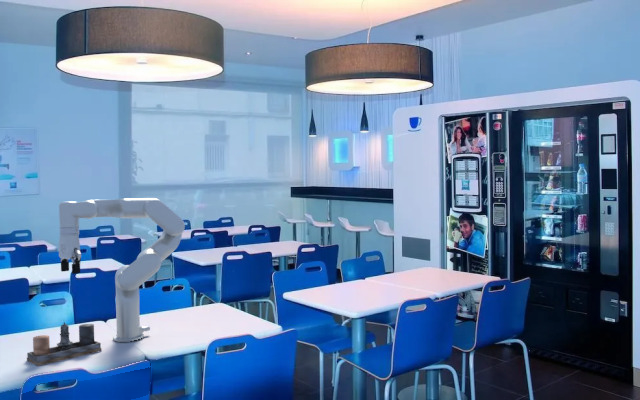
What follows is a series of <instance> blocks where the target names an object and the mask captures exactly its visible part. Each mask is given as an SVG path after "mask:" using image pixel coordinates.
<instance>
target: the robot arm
mask: <svg viewBox="0 0 640 400" xmlns="http://www.w3.org/2000/svg"><path fill="white" fill-rule="evenodd" d="M58 212H59V213H58V217H59V218H58V220H59V224H58V225H59V240H58V257H59V258H60V271H61V272H69V271H70V262H69V260H71V274H73V275H75V274H81V263H82V262H81V260H82V252H81V244H80V237H79V235H80V219H89V220H90V219H94V218H116V219H117V218H118V219H146V218H147V219H151V220H152V221H153V223H154V224H156V225H158V227H160V228H161V229H162V230H163V231H162V233H161V235H160V237H159V238H158V239H157V240H155V241H154V242H152V244H151V245H149V246H148V247H146V248H144V250H142V251H140V253H139V254H138V255H137V257H136V259H135V260H134V261H133V262H132V263H130V264H125V265H122V266H120V267H119V268H118V269H117V270H116V272H115V276H114V283H115V311H116V312H115V313H116V314H115V315H116V317H115V319H116V320H115V321H116V334H115V335H113V337H112V341H114V342H118V343H131V342H130V341H132V342H135V341H134V340H137V341H139V340H138V339H140V340H142V339H143V338H144V332H149V331H150V330H151V327H150V326H149V325H147V326H141V324H140V323H141V322H140V286H141V285H143V284H144V283H146V281H148V280H149V279H151V277H152V276H154V275H155V274H156V273H157V272H159V270H160V268H161V266H162V262H163V261H165V259H167V258H168V257H169V256H170V255H171V254H172V253H174V251H175V250H177V249H178V247H179V245H180V243H181V239H182V235H183V233H184V232H185V227H186V224H185V221H184V220H183V218H181V217H180V216H179V215H178V214H176V213H175V211H173V210H172V209H171V208H170V207H169V206H167V205H166V204H165V203H164V202H163V201H162V200H161V199H158V198H155V197H147V198H146V197H143V198H137V197H136V198H133V197H132V198H116V199H86V200H83V201H74V200H73V201H72V200H70V201H67V200H66V201H61V202H60V203H59V204H58ZM141 338H142V339H141Z"/></svg>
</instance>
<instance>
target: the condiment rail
mask: <svg viewBox="0 0 640 400" xmlns="http://www.w3.org/2000/svg"><path fill="white" fill-rule="evenodd" d="M94 325H95V324H93V323H84V324H80V325H78V335H79V336H78V339H79V341H75V342H73V344H72V347H71V349H69V350H65V351H62V350H60V349H59V348H58V346H57V345H56V346H52V347H51V345H50V335H47V334H45V335H42V334H40V335H36V336H33V337H32V341H33V342H32V345H33V347H32V349H33V350H32V351H29V352H27V357H26V362H29V363H31V364H34V365H35V366H37V367H39V366H43V365H50V364H53V363H57V362H62V361H65V360H69V359H74V358H78V357H82V356H86V355H90V354H95V353H99V352H98V351H100V352H102V347H101V342H99V341H96V340H95V326H94Z"/></svg>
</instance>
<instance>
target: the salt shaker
mask: <svg viewBox="0 0 640 400" xmlns="http://www.w3.org/2000/svg"><path fill="white" fill-rule="evenodd" d="M59 336H60V342H58V343H56V346H58V348H59V349H60V350H62V351H65V350H69V349H71V347H72V344H73V343H74V342H73V341H71V340H70V332H69V325H68V324H66V322H65V321H64V322H63V324H61V326H60V333H59Z"/></svg>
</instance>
